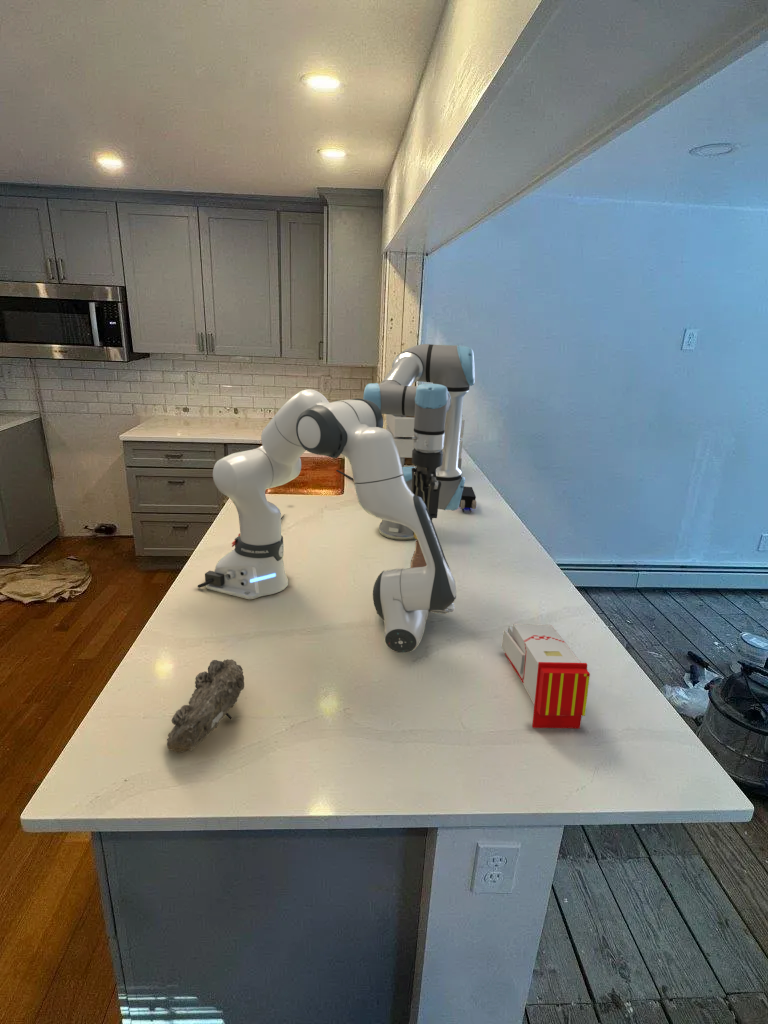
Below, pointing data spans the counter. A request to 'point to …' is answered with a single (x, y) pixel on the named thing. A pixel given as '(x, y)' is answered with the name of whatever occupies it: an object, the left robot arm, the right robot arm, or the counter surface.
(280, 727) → the counter surface
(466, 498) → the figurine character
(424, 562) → the bottle
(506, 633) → the toy
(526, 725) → the counter surface
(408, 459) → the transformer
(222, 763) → the counter surface
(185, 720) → the fossil
